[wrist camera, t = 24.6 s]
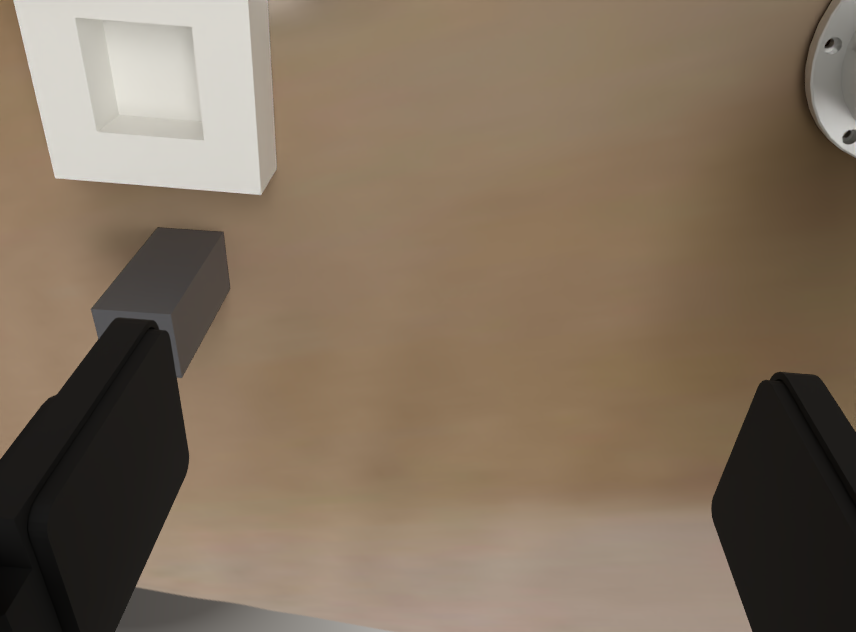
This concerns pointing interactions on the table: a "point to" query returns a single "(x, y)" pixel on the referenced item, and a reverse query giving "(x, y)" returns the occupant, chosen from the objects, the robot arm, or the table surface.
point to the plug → (171, 288)
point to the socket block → (154, 90)
